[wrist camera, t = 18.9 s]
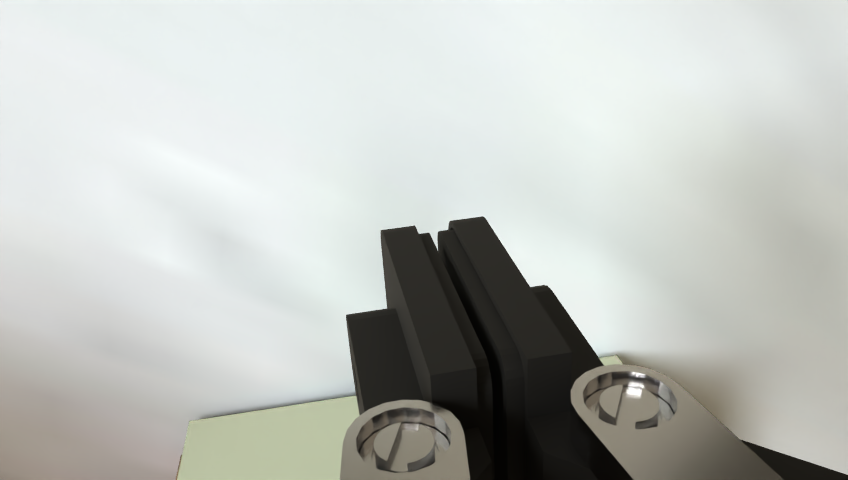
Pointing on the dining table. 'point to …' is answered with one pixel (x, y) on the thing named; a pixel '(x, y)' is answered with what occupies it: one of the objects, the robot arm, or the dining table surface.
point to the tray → (274, 442)
